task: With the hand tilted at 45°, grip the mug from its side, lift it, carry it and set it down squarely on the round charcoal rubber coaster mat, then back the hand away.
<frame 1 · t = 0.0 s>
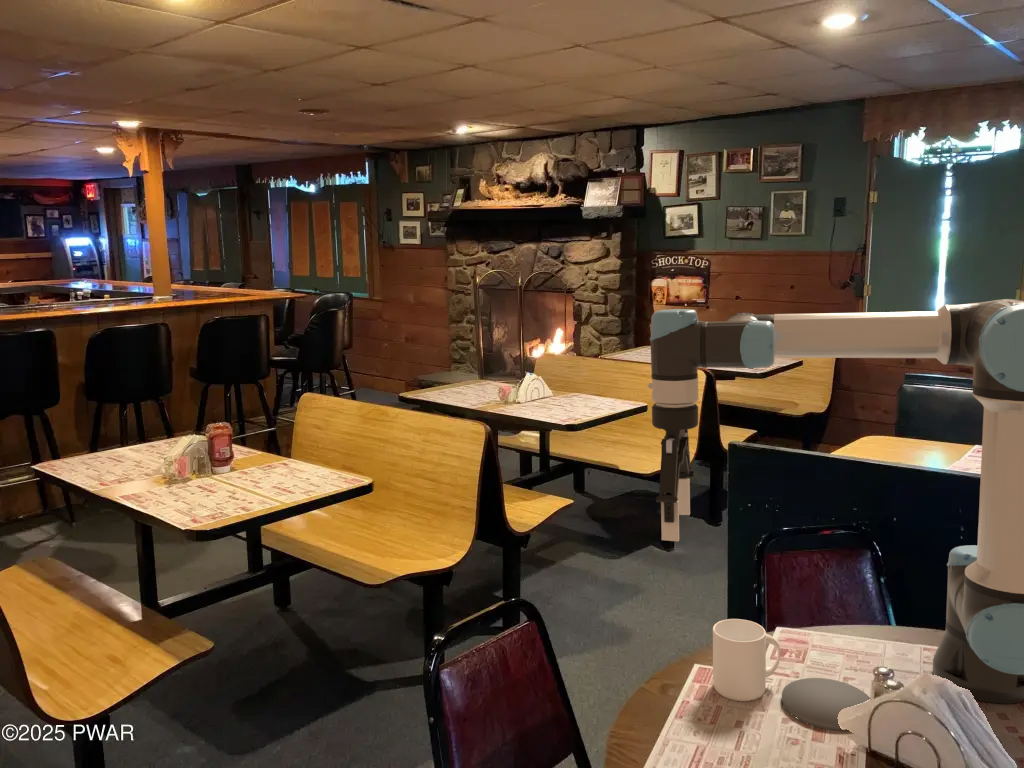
hand: (676, 526, 137), 28 cm above the table, tool pointing down, fingers open, 13 cm apart
coaster mat: (827, 705, 131), on the table
mug: (748, 688, 138), on the table
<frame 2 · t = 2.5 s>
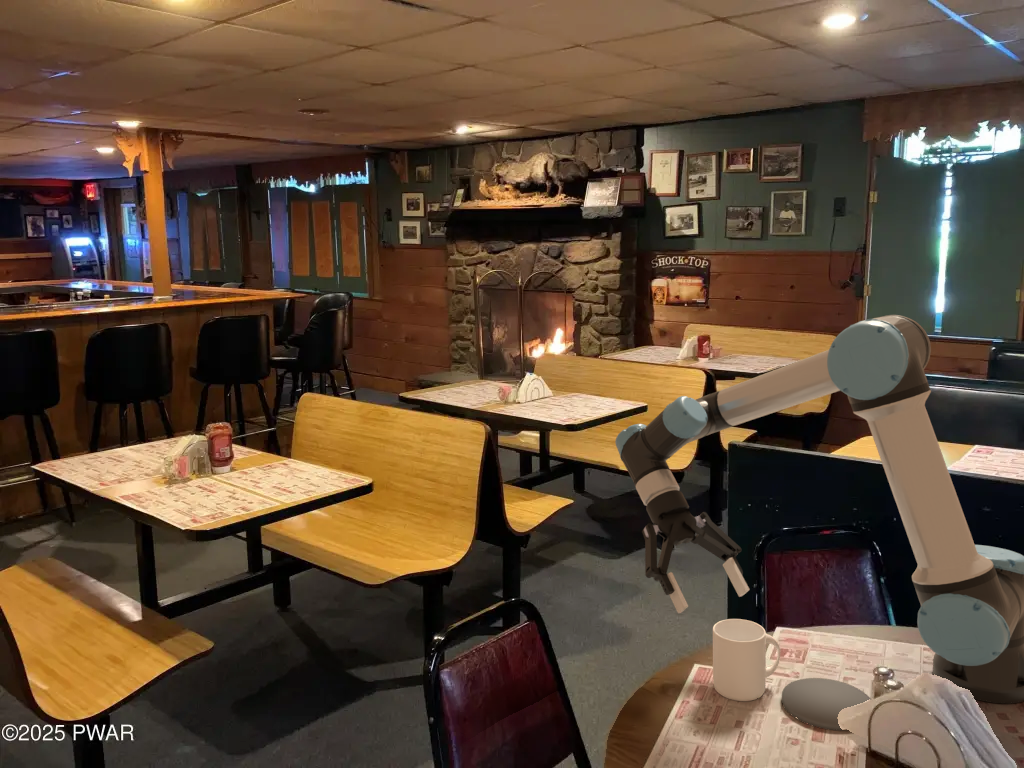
hand: (714, 601, 143), 12 cm above the table, tool tilted 45°, fingers open, 13 cm apart
nothing on the table moved.
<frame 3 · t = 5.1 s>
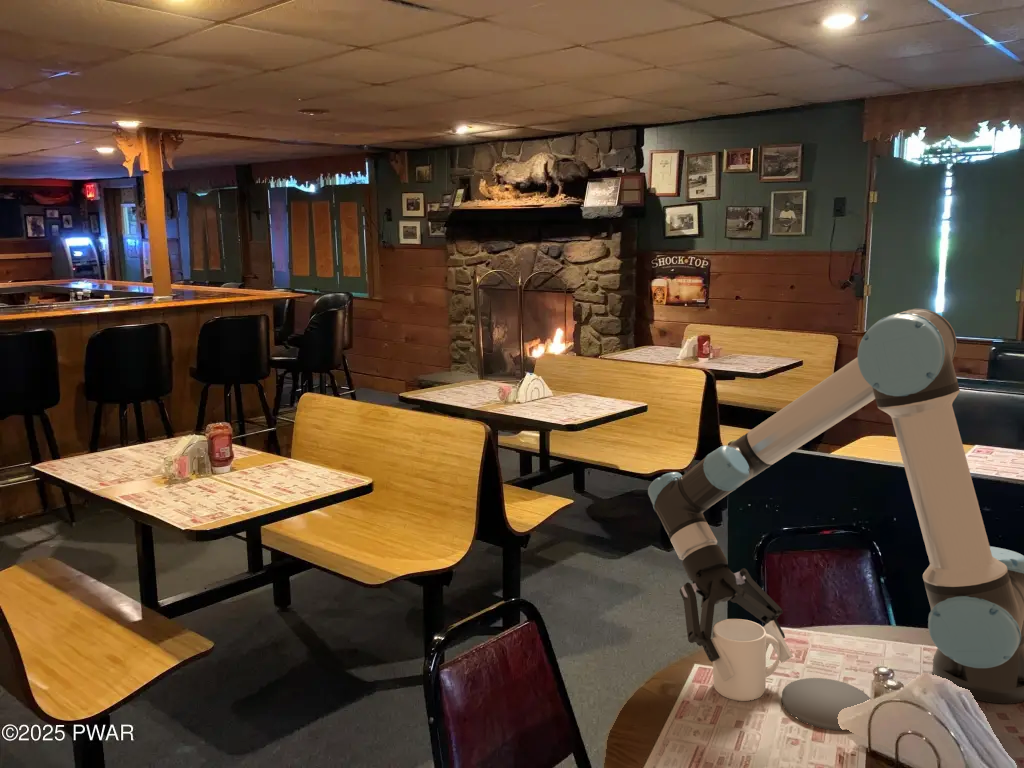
hand: (758, 668, 135), 5 cm above the table, tool tilted 45°, fingers closed on mug, 12 cm apart
mug: (748, 688, 138), on the table, touching gripper
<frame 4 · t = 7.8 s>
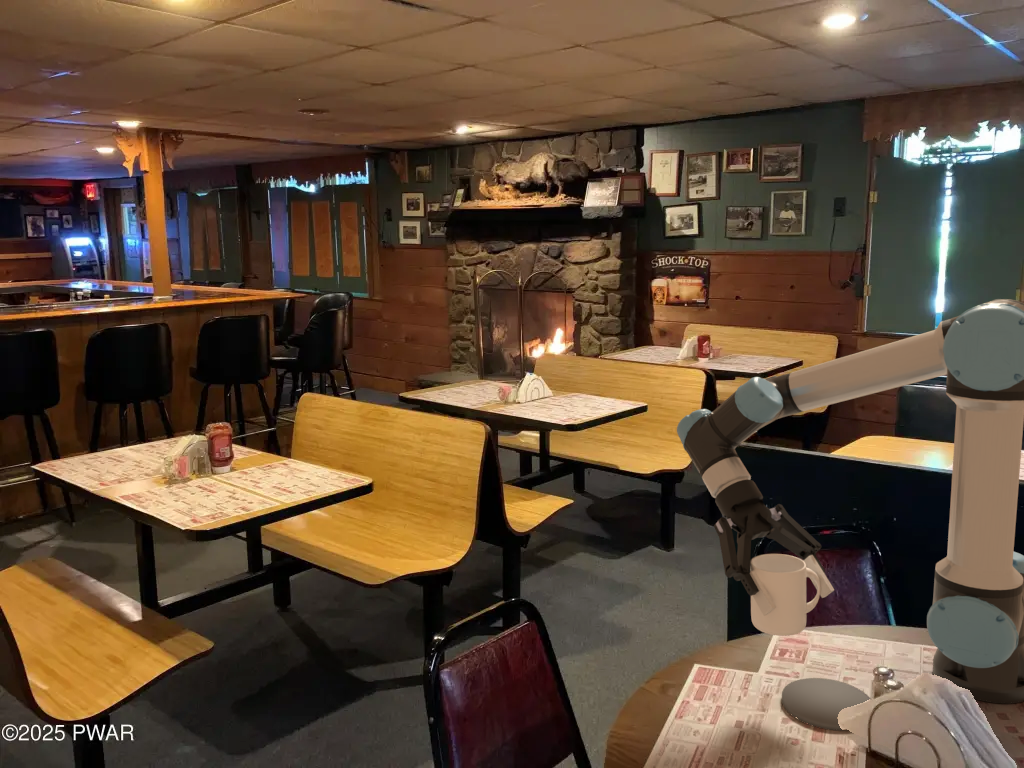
hand: (799, 602, 130), 17 cm above the table, tool tilted 45°, fingers closed on mug, 12 cm apart
mug: (788, 625, 133), point 13 cm above the table, touching gripper
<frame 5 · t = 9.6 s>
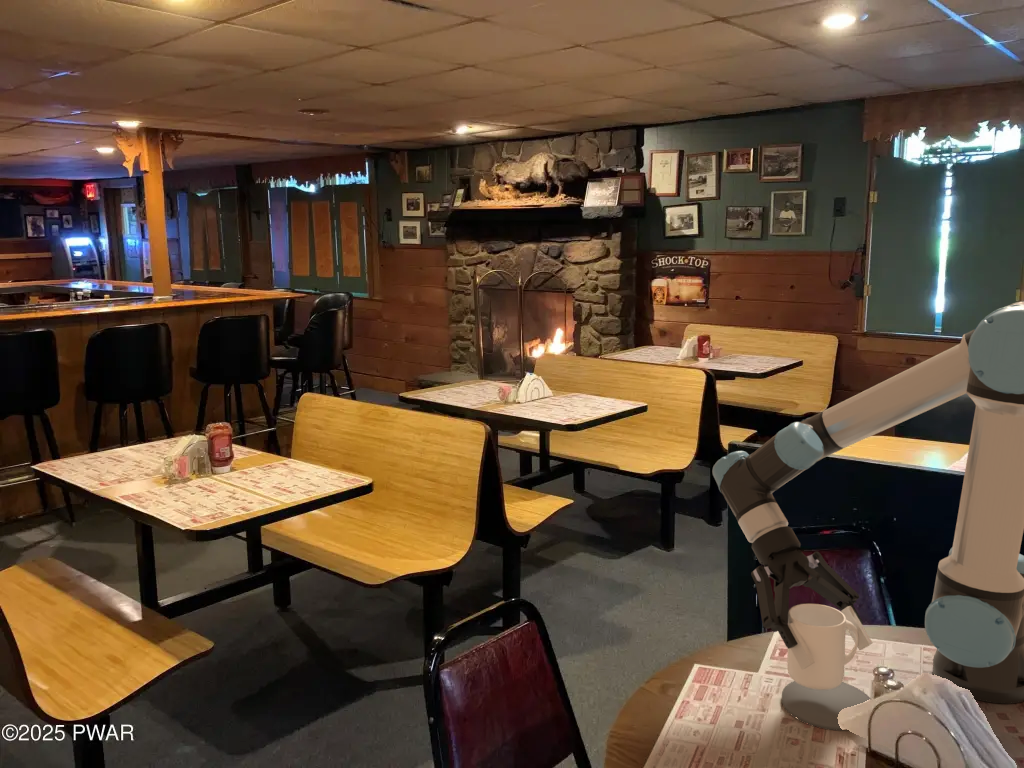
hand: (838, 656, 128), 10 cm above the table, tool tilted 45°, fingers closed on mug, 12 cm apart
mug: (824, 676, 131), point 5 cm above the table, touching gripper
when the fingers open (7 cm above the table, at t = 10.8 s): mug drops 1 cm, resting on coaster mat.
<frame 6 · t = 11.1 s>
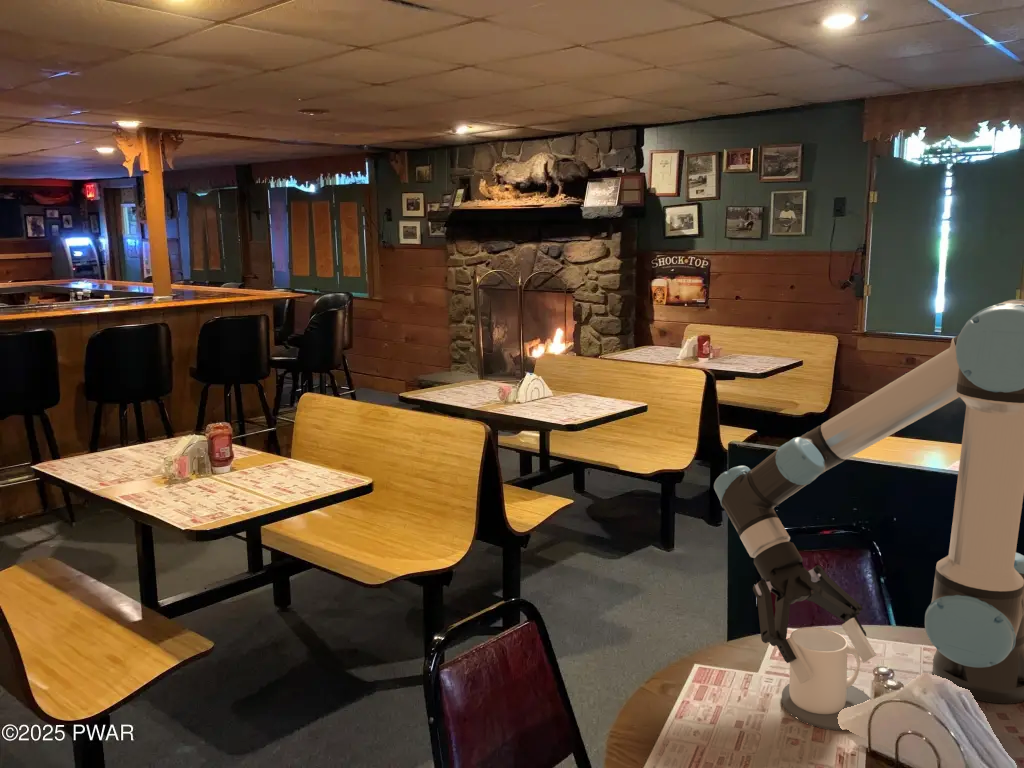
hand: (839, 669, 128), 7 cm above the table, tool tilted 45°, fingers open, 13 cm apart
mug: (826, 701, 131), point 1 cm above the table, touching coaster mat
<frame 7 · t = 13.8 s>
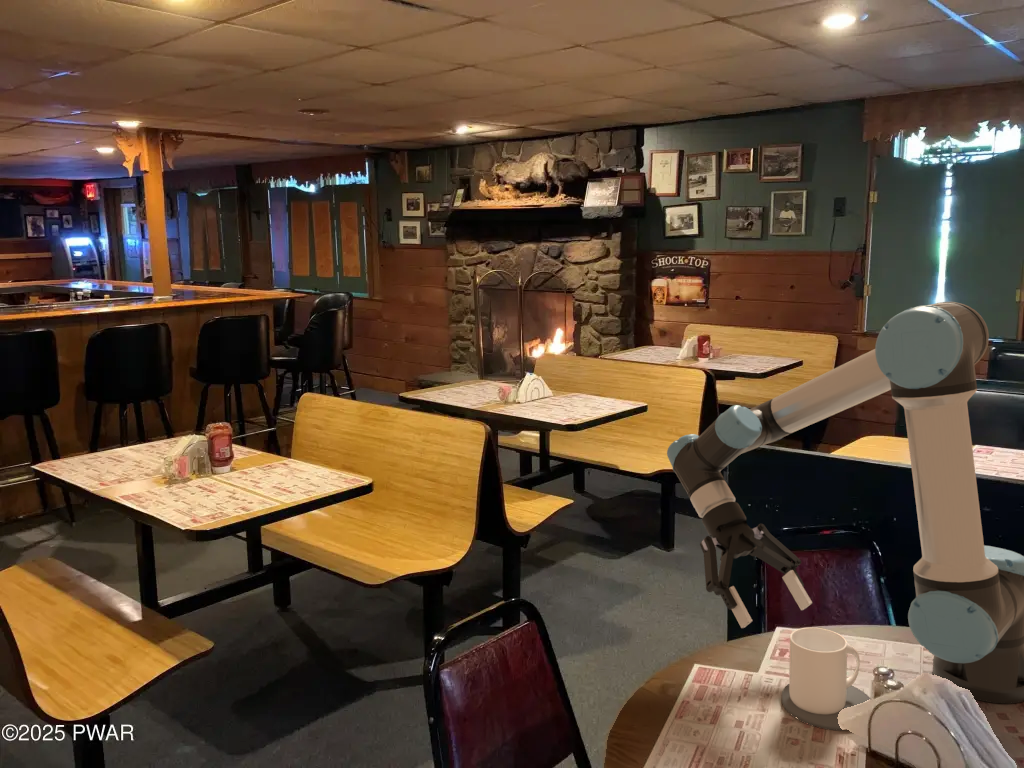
hand: (777, 615, 140), 11 cm above the table, tool tilted 45°, fingers open, 13 cm apart
nothing on the table moved.
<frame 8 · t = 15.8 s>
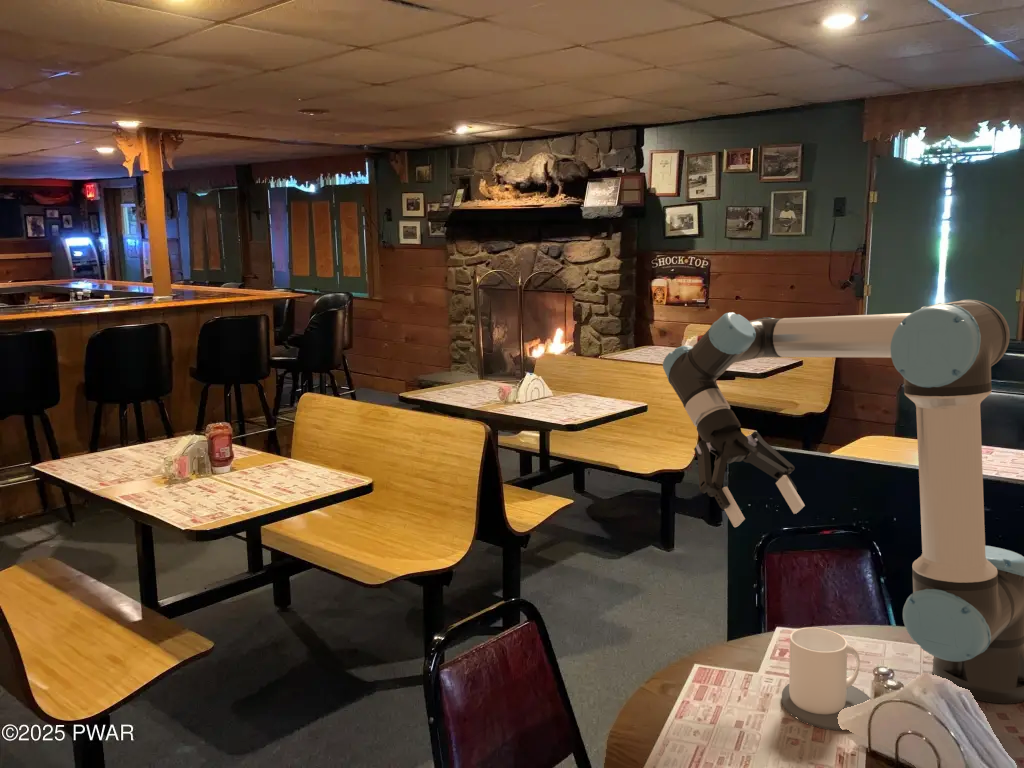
hand: (770, 516, 141), 28 cm above the table, tool tilted 45°, fingers open, 13 cm apart
nothing on the table moved.
at the end: mug 0.1 cm from the coaster mat (horizontally); mug point 0.8 cm above the table; mug tilted 0° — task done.
